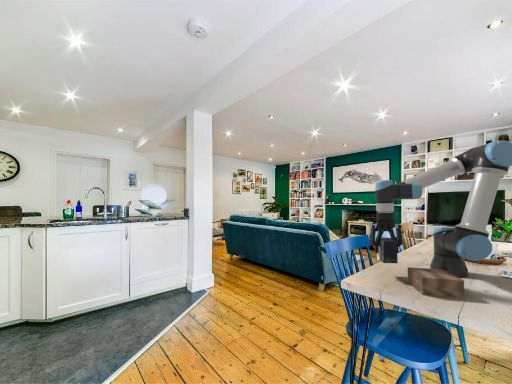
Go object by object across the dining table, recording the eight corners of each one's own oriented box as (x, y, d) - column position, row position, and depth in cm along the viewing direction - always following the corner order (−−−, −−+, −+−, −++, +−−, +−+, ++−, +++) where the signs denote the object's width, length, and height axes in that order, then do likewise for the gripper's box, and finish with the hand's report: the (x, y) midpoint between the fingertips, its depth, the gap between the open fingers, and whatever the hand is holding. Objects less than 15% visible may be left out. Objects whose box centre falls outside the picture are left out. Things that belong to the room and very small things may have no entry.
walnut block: (443, 285, 102) (443, 269, 102) (464, 299, 88) (464, 280, 89) (407, 282, 105) (407, 267, 105) (422, 295, 92) (422, 277, 92)
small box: (399, 263, 106) (397, 240, 107) (383, 263, 108) (382, 240, 108) (390, 257, 117) (389, 236, 117) (376, 257, 118) (375, 237, 118)
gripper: (402, 211, 116) (404, 257, 115) (361, 211, 118) (363, 257, 117) (410, 212, 108) (412, 262, 107) (366, 212, 110) (368, 261, 110)
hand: (386, 259), depth 112 cm, fingers closed on small box, 7 cm apart
